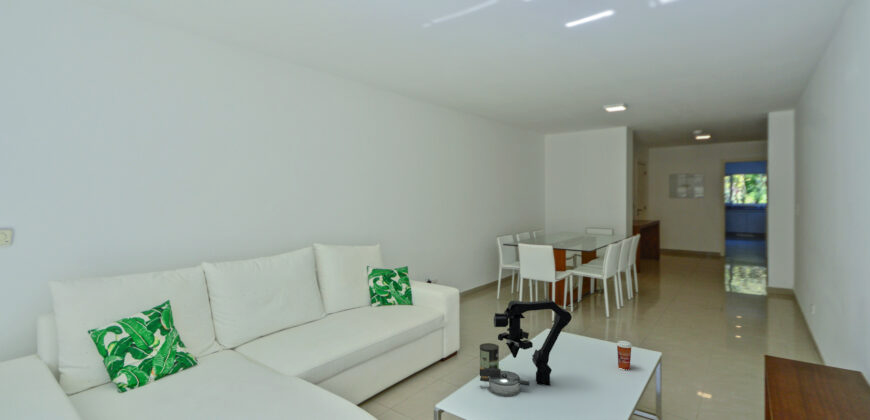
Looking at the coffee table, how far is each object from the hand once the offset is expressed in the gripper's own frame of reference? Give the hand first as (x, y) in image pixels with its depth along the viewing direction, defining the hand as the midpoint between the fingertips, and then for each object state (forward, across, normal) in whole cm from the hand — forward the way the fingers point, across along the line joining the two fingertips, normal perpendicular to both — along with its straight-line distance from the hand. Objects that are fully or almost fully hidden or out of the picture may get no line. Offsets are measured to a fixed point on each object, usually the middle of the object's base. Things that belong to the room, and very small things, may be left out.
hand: (514, 357), depth 206 cm
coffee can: (+13, +17, +1) cm, 22 cm away
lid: (+8, 0, +11) cm, 13 cm away
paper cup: (+13, -23, -61) cm, 67 cm away
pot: (+13, -2, +9) cm, 16 cm away
